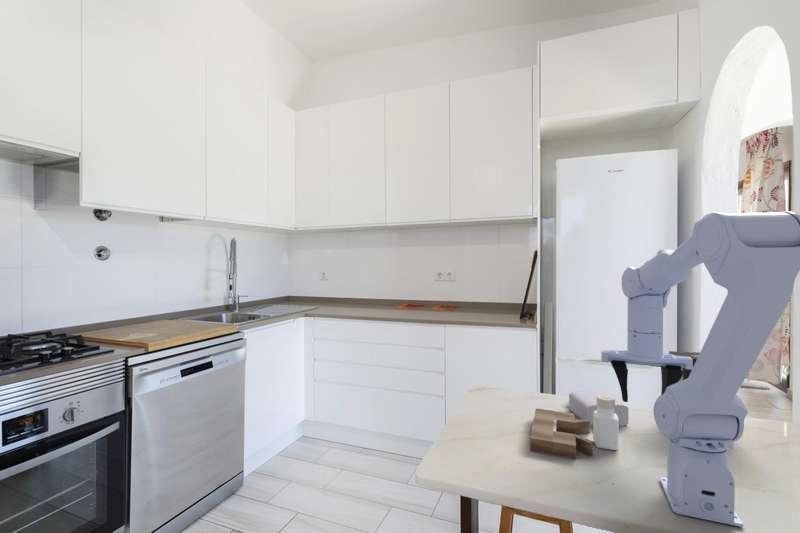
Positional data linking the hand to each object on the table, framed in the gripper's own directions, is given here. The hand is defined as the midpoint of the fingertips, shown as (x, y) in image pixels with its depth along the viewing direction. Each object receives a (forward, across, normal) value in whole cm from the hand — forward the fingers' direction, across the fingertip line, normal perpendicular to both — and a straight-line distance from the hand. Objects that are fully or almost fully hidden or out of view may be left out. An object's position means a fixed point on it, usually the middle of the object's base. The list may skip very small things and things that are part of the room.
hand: (644, 402), depth 74 cm
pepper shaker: (+10, +6, 0) cm, 12 cm away
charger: (+10, +8, -17) cm, 22 cm away
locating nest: (+9, +14, 0) cm, 17 cm away
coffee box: (+10, -12, -16) cm, 22 cm away
